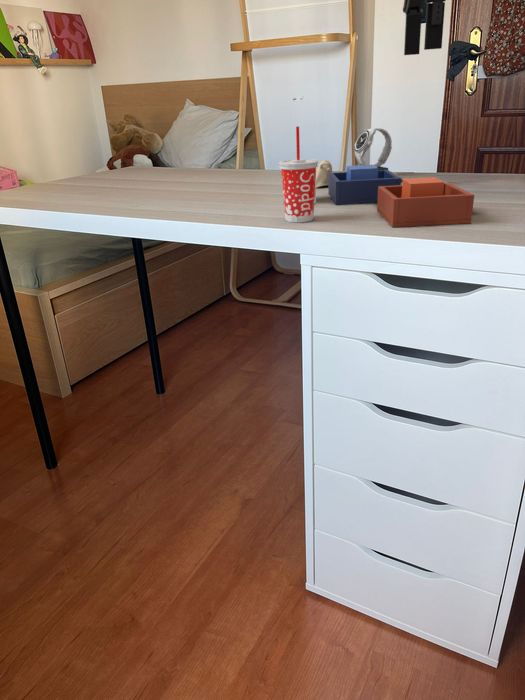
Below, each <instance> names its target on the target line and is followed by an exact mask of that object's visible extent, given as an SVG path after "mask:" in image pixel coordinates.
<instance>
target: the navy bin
mask: <svg viewBox="0 0 525 700" xmlns="http://www.w3.org/2000/svg"><path fill="white" fill-rule="evenodd" d="M346 178H347V171H335V172H332V173H329V177H328V185H327V188H328V193H327V194H328V196H329V197H330V199H331V200H332V201H333V203H334V205H335V206H343V205H345V206H346V205H362V204H363V203H365V204H377V201H378V187H379V186H396V185H402V177H401V176H398V175H397V174H395V173H394V172H392V171H390V170H389V169H388V170H378V179H363V180H346ZM363 205H364V204H363Z"/></svg>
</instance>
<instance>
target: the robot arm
mask: <svg viewBox="0 0 525 700" xmlns="http://www.w3.org/2000/svg"><path fill="white" fill-rule="evenodd" d="M446 1H447V0H425V1H424V3H425V4H426V12H425V29H424V45H423V50H424V51H427V50H440V49H442V47H443V34H444V21H445V8H446ZM422 5H423V0H404V1H403V7H402V12H403V13H404V14H405V27H404V28H405V29H404V51H403V52H404V53H403V56H412V55H413V56H414V55H420V50H421V33H422V31H421V30H422V15H424V9H423V8H422Z"/></svg>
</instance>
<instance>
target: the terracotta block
mask: <svg viewBox="0 0 525 700" xmlns="http://www.w3.org/2000/svg"><path fill="white" fill-rule="evenodd" d="M444 183H445V182H444V181H443V180H441V179H439V178H437V177H435V176H432V177H431V176H430V177H413V178H411V177H410V178H402V180H401V185H402V197H401V198H407V197H425V196H443V189H444Z"/></svg>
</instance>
